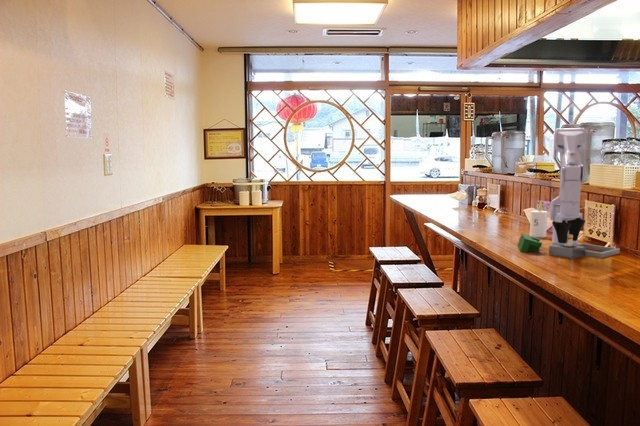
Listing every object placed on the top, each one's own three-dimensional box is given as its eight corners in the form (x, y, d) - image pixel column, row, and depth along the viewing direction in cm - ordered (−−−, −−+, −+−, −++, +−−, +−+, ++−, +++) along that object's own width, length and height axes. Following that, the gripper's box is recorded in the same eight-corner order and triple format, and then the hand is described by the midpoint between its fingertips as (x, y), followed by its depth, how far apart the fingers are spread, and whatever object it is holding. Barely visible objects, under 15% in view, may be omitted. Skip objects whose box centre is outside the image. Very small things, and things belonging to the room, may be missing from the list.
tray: (582, 249, 180) (582, 243, 179) (619, 256, 169) (619, 249, 169) (563, 254, 172) (563, 247, 172) (600, 260, 162) (601, 253, 162)
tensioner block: (561, 254, 172) (562, 243, 172) (584, 258, 166) (585, 246, 165) (548, 257, 168) (549, 245, 167) (571, 261, 161) (572, 249, 161)
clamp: (533, 267, 173) (542, 246, 168) (516, 261, 174) (524, 241, 169) (534, 248, 182) (542, 228, 177) (517, 243, 184) (525, 223, 179)
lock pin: (564, 253, 169) (566, 233, 168) (573, 255, 166) (575, 234, 165) (559, 254, 167) (561, 234, 166) (568, 256, 164) (570, 235, 164)
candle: (527, 236, 208) (529, 200, 206) (532, 234, 212) (534, 199, 210) (543, 238, 203) (545, 201, 201) (548, 235, 208) (550, 200, 206)
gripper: (568, 199, 172) (566, 237, 173) (547, 201, 163) (544, 242, 165) (589, 200, 166) (587, 240, 168) (568, 203, 157) (565, 245, 159)
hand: (567, 241), depth 166 cm, fingers open, 7 cm apart
